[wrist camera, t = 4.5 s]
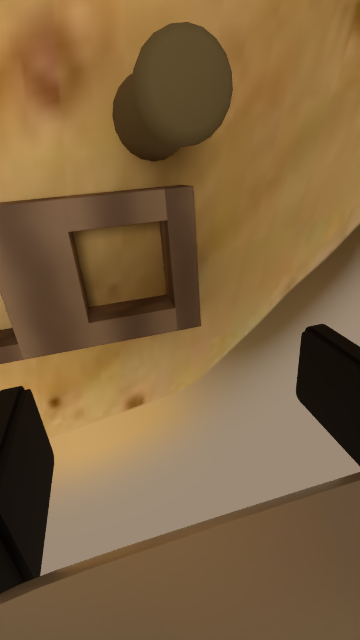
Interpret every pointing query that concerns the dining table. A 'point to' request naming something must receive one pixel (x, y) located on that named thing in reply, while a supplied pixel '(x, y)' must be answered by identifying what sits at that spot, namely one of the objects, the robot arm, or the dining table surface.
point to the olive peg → (173, 92)
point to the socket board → (66, 280)
